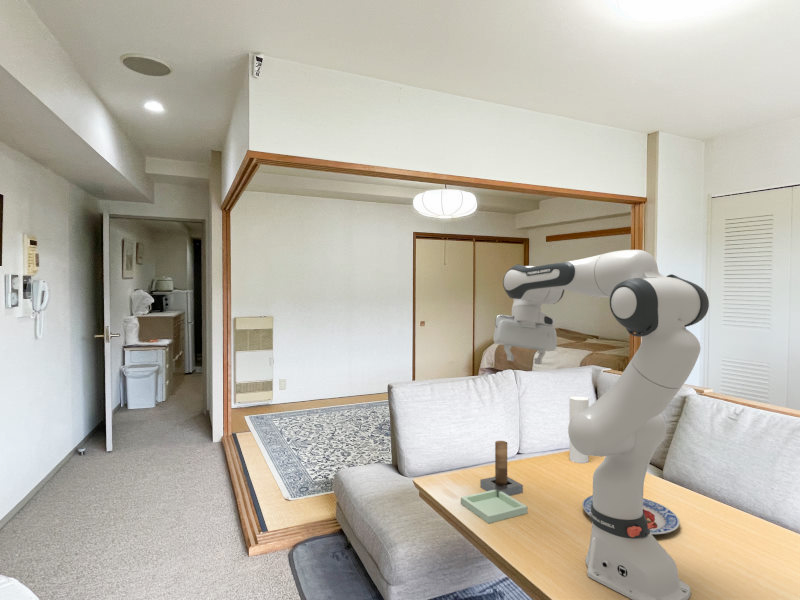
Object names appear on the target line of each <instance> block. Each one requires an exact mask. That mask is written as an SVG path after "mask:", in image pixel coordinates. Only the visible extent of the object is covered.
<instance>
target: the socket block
mask: <svg viewBox="0 0 800 600" xmlns="http://www.w3.org/2000/svg"><path fill="white" fill-rule="evenodd" d="M479 481H480V488H481V489H482V490H485V492H486V491H490V490H496V491H497V492H501V491H502V492H504V493H505V494H507V495H509V496H510V497H512V496H514V495H519V494H523V493H524V485H523V484H522V483H520V482H518V481H516V480H514V479H513V478H511V477H509V476H507V485H504V486H498V485H497V484H495V476H491V477H486V478H481V479H480V480H479ZM498 495H499V493H497V496H498ZM498 497H499V496H498Z"/></svg>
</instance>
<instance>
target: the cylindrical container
mask: <svg viewBox="0 0 800 600" xmlns="http://www.w3.org/2000/svg"><path fill="white" fill-rule="evenodd" d="M588 407H590V405H589V398H588V397H587V396H579V395H577V396H573V395H572V396H570V397H569V421H570V420H571V418H572V417H573V416H574V415H576V414H578V413H580V412H582V411H583V410H585V409H587V408H588ZM589 456H590V455H584V454H581V453H580V452H578V451H577V450H576V449H575V447H574V446H573V445H572V443H571V441H570V440H569V460H570V462H573V463H577V464H588V463H589Z"/></svg>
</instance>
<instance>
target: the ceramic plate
mask: <svg viewBox="0 0 800 600" xmlns="http://www.w3.org/2000/svg"><path fill="white" fill-rule="evenodd" d="M592 503H593V494H592V495H590V496H588V497H586V498H584V500H583V501H582V508H583V511H584V513H586V514H587V515H588V516H589V517H590V518H591V504H592ZM643 512H644V514H645V517H646V519H647V522H648V523H651V522H654V524H653V525H651V526H654V527H652V528H650V533H651V534H652V535H653V536H654V535H663V534H664V535H665V534H669V533H672V532H674V531H676V530H677V529H678V528H679V526H680V519H679V517H678V516H677V514H676V513H675V512H673V510H671V509H669V508H668V507H666V506H665V505H662V504H660V503H658V502H656V501H653V500H650V499H647V498H644V497H643Z"/></svg>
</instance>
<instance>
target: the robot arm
mask: <svg viewBox="0 0 800 600" xmlns="http://www.w3.org/2000/svg"><path fill="white" fill-rule="evenodd" d="M502 286H503V290H504V292H505V293H506V294H507V296H508V297H509V298H510V299H513V303H512V306H511V315H508V314H506V315H505V314H504V313H503V314H501V313H500V314H499V315H496V317H495V319H494V325H495V327H494V331H493V338H492V339H493V342H494V344H495V345H501V346H503V350H504V352H505V354H506V360H507V361H511V362H514V360H515V354H513V353H512V351H511V349H512V347H516V348H523V349H528V350H529V349H530V350H536V351H537V354H538V356H537V357H535V358H534V364H535V365H542V364H543V363H542V362H543V358H544V356H545V355H546V352H553V351H555V350H556V349H557V345H558V342H557V341H558V339H557V336H558V335H557V330H556V328H555V327H554V326H556V319H555V318H553V317H551V316H550V315H547V314H545V313H543V312H542V307H541V306H542V305H544V304H545V305H555V304H557V303H558V302H560V300H562V298H564V297H563V296H564V294H565V291H568V292H571V293H572V292H573V293H575V294H579V295H583V296H587V297H592V298H601V299H602V298H603V299H604V298H605V299H606V298H607V299H609V308H610V312H611V313H612V316H613V317H614V319H615V320H616V321H617V323H619V324H620V325H621V326H622V327H624V328H625V329H626V330H627V332H628V334H630V335H631V336H634V337H638V338H639V337H641V343H640V345H639V347H638V349H637V350H636V352H635V353H634V355H633V356H632V358H631V360H630V361H629V362H628V364H627V366H626V367H625V369H624V370H623V371H622V373H621V375H620V376H619V378H618V379H617V380H616V382H615V383H614V384H613V385H612V386H611V387H610V388H609V389H608V390H607V391H606V392H605V393H604V394H602V395H601V396H600V397H599V398H598V399H596V400H595V401H594V402H593V403H592V404H591V405H589V407H588V408H587V409H585V410H583V411H582V412H580V413H578V414H576V415H574V416H573V417H572V418H571V420H570V419H569V423H568V428H567V429H568V430H567V433H568V437H569V438H568V439H569V442H570V441H571V443H572V445H573V446H574V447H575V449H576V450H577V451H578V452H580V453H581V454H584V455H589V456H591V457H601V458H602V457H604V459H603V460H602V462H601V463H600V464H599V465H598V466H597V468H595V470H594V472H593V475H592V495H593V503H592V504H591V517H590V522H591V532H590V533H591V534H590V541H589V546H588V549H587V550H588V551H587V552H586V553H587V554H586V557H585V560H584V561H585V563H586V566H587V570H586V571H587V572H586V575H587V577H588V578H590V579H592V580H594V581H596V582H597V583H599V584H602V585H603V586H606V587H607V588H609V589H611V590H613V591H615V592H617V593H619V594H621V595H623V596H624V597H627V598H628V599H631V600H689V599H690V597H691V593H692V592H691V587H690V586H689V585H688V584H687V583H686V582H684V581H682V580H681V579H680V578H679V571H678V567H677V564H676V562H675V560H674V558H672V556H671V555H670V554H669V553H668V552H667V551H666V549H665V548H664V547H663V546H662V545H661V543H660V542H659V541H658V540H657V539H656V537H655V536H654V534H653V535H652V534H651V533H650V528H652V527H654V526H651V525H653V524H654V522H651V523H648V522H647V519H646V517H645V514H644V512H643V498H644V487H645V486H644V485H645V479H646V474H647V471H648V468H649V465H650V464H651V463H650V462H651V460H652V457H653V455H654V454H655V452H656V450H657V448H658V447H659V446H660V445H661V444H662V442H664V440H665V439H666V436H667V430H668V429H667V428H668V427H667V424H666V421H665V417H663V415H662V413H663V412H664V411H665V410H666V409H667V407H668V406H669V404H670V403H671V402H672V400H673V399H674V397H676V395H677V394H678V393H679V391H680V389H682V387H683V385H684V384H685V383H686V381H687V380H688V378H689V376H690V375H691V373H692V371H693V370H694V367H695V365H696V363H697V361H698V358H699V356H700V353H701V349H702V348H701V343H700V341H699V338H697V337H696V335H695V334H693V333H692V332H691V331H690V330H688V329H687V327H690V326H693V325H696V324H697V323H699V322H700V321H702V320H703V319H704V318H705V317H706V316H707V313H708V311H709V309H710V308H709V307H710V302H709V296H708V295H707V292H706V291H705V290H704V288H703V287H701V286H700V285H698V284H696V283H694V282H692V281H689V280H687V279H684V278H681V277H680V276H677V275H675V274H669V275H666V276H665V275H664V274H663V275H662V274H661V273H660V272H659V269H658V263H657V261H656V259H655V258H654V256H653V255H652V254H651V253H649V252H647V251H645V250H643V249H623V250H614V251H610V252H605V253H602V254H597V255H594V256H588V257H584V258H580V259H574V260H569V261H565V262H564V261H563V262H557V263H550V264H543V265H538V266H537V265H536V266H535V265H523V264H515V265H513V266H512V267H510V268H509V269H507V271H506V273H505V274H504V275H503V280H502Z"/></svg>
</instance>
